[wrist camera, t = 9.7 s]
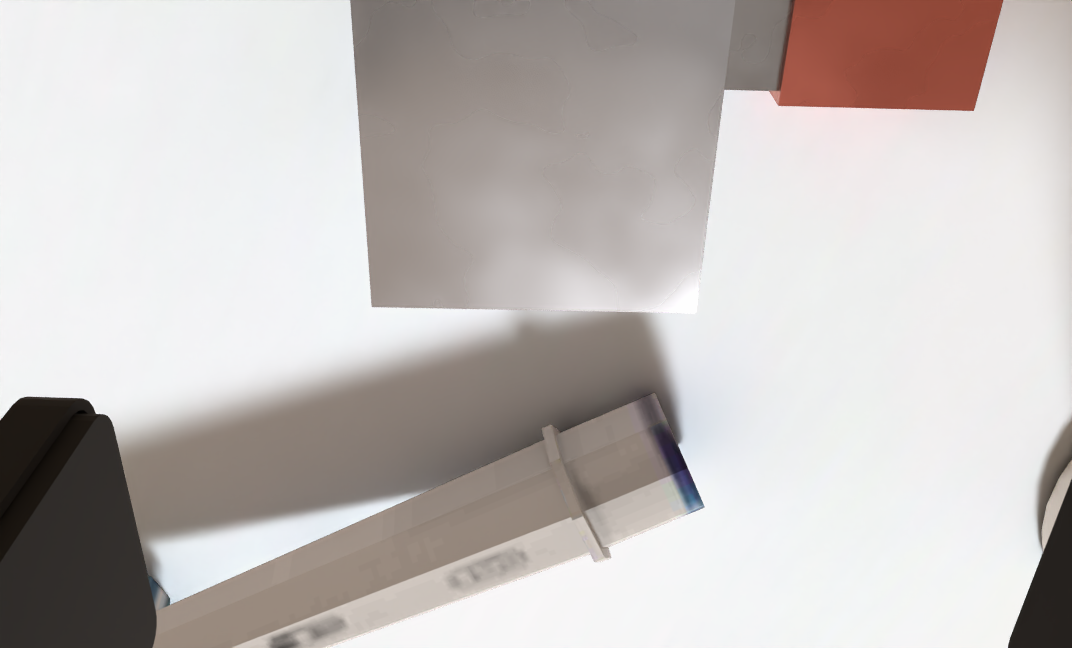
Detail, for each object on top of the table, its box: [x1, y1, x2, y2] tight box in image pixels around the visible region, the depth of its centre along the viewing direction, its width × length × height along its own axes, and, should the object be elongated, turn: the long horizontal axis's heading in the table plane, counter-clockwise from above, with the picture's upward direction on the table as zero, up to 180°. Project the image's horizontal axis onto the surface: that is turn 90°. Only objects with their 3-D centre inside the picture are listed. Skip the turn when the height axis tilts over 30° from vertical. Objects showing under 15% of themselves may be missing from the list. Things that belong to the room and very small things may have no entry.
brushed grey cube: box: [350, 0, 735, 313], centre depth 20 cm, size 6×6×7 cm
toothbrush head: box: [148, 393, 704, 648], centre depth 33 cm, size 5×7×25 cm
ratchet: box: [724, 0, 1003, 111], centre depth 22 cm, size 14×6×8 cm, turn 88°
